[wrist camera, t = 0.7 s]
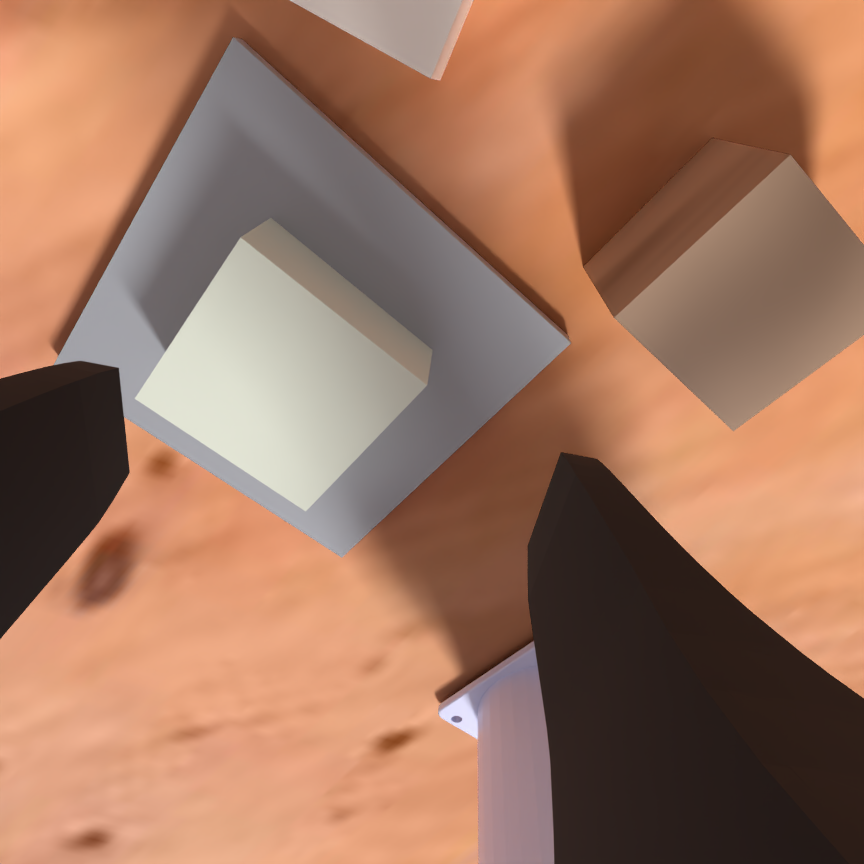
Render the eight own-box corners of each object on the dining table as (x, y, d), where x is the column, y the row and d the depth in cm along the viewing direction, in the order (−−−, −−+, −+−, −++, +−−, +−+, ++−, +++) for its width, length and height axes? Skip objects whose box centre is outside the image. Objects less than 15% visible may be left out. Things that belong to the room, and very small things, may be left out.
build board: (568, 335, 18) (571, 343, 18) (344, 547, 23) (341, 557, 23) (241, 39, 15) (233, 37, 14) (61, 362, 20) (51, 369, 19)
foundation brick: (432, 350, 18) (426, 385, 16) (323, 467, 21) (305, 511, 19) (270, 217, 16) (240, 237, 14) (173, 363, 19) (134, 398, 17)
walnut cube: (808, 251, 17) (909, 300, 13) (679, 359, 19) (733, 431, 15) (711, 137, 15) (790, 154, 12) (582, 266, 17) (614, 317, 14)
